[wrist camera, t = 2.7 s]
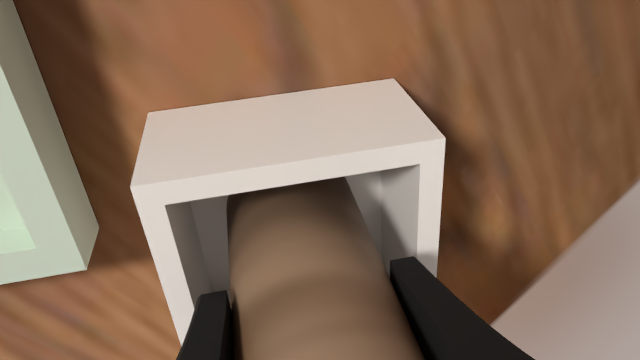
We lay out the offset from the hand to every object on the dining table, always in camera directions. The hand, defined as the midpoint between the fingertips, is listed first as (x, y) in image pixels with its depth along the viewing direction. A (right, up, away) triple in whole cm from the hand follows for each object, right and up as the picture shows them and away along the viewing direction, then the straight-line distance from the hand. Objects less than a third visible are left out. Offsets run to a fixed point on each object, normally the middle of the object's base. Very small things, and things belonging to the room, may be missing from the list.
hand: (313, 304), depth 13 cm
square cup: (-1, +2, +4) cm, 5 cm away
